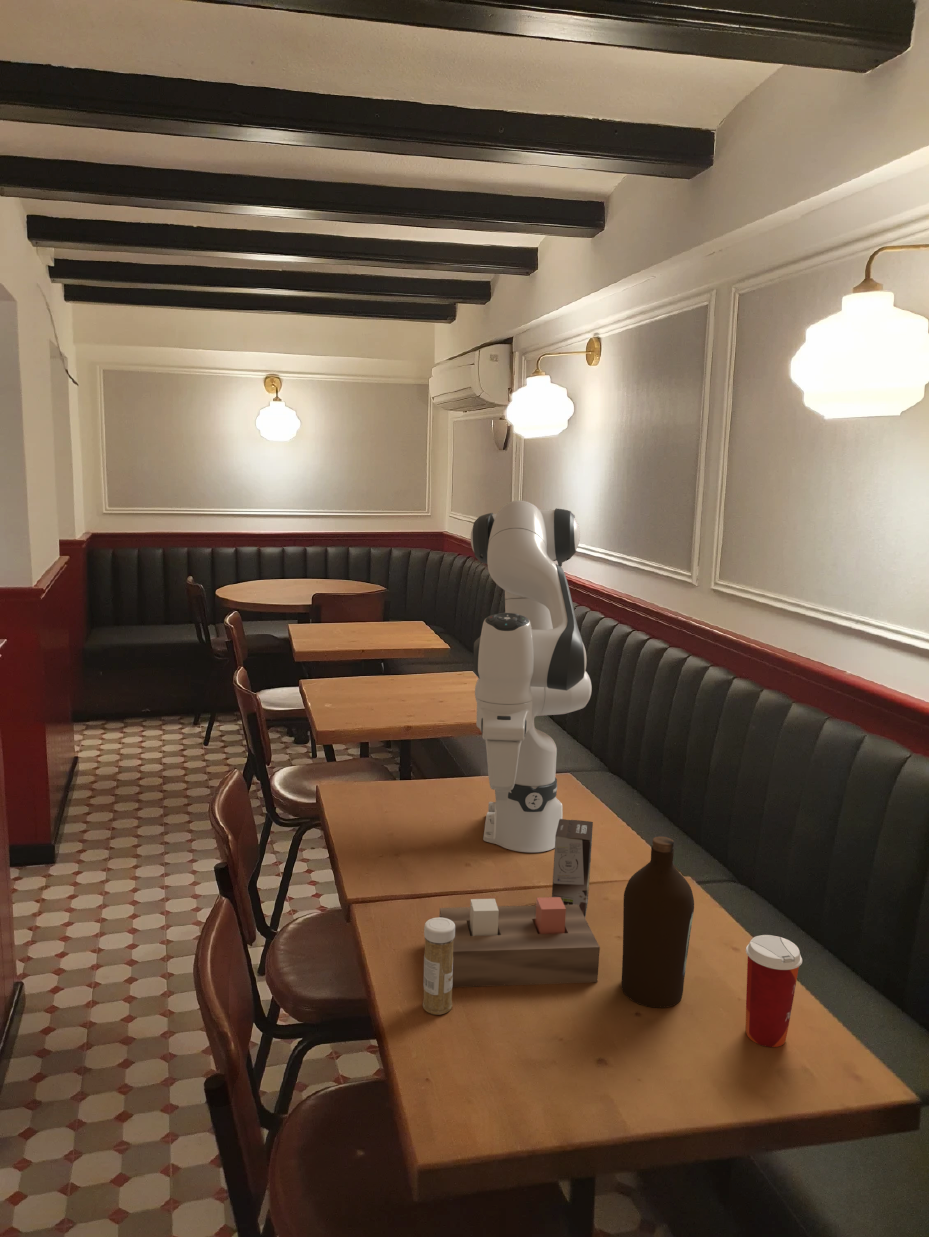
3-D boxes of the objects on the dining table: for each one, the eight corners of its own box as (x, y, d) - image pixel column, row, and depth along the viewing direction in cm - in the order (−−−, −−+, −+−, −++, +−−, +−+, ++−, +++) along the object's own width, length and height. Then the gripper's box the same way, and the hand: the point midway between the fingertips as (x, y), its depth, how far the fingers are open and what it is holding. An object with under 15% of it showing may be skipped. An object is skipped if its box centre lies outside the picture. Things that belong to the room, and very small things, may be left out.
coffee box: (585, 925, 162) (590, 840, 159) (549, 920, 163) (554, 836, 160) (589, 902, 171) (594, 820, 168) (554, 897, 172) (559, 816, 169)
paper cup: (804, 1047, 130) (814, 957, 127) (758, 1055, 128) (767, 963, 125) (771, 1015, 137) (780, 929, 135) (727, 1022, 135) (735, 935, 133)
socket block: (438, 940, 155) (439, 907, 154) (576, 936, 158) (578, 904, 157) (446, 987, 141) (448, 951, 140) (597, 981, 144) (599, 946, 143)
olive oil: (627, 1011, 137) (638, 855, 133) (610, 972, 147) (620, 826, 143) (696, 1010, 138) (709, 855, 133) (674, 971, 148) (686, 826, 144)
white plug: (469, 931, 150) (470, 899, 149) (493, 931, 150) (494, 898, 149) (472, 944, 146) (473, 911, 145) (497, 943, 147) (498, 910, 146)
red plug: (534, 930, 151) (536, 897, 150) (558, 929, 152) (560, 896, 151) (539, 942, 147) (541, 909, 146) (563, 941, 148) (565, 908, 147)
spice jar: (457, 1012, 135) (460, 928, 133) (428, 1018, 133) (431, 933, 131) (444, 995, 139) (447, 913, 137) (417, 1001, 137) (419, 919, 135)
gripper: (486, 700, 156) (484, 778, 158) (482, 731, 136) (479, 820, 137) (523, 702, 155) (520, 780, 157) (524, 733, 135) (521, 822, 137)
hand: (501, 799), depth 147 cm, fingers open, 8 cm apart
